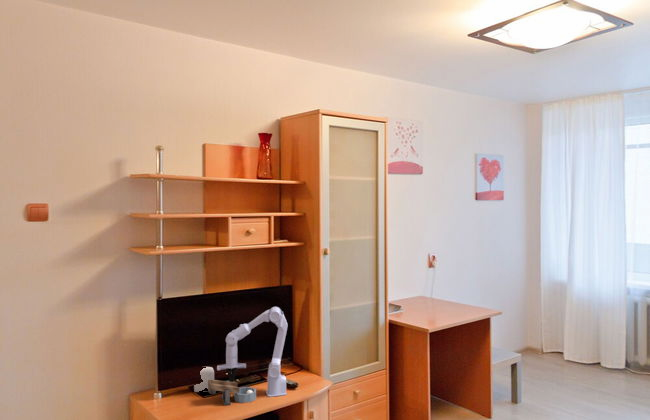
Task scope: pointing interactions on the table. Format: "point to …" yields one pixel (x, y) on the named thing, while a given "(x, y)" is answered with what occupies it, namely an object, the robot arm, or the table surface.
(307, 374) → the table surface
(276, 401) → the table surface
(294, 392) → the table surface
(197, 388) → the white upright shaped piece
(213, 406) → the table surface
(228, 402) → the lever stand
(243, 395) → the blue-grey round bin
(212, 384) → the tipping ramp
